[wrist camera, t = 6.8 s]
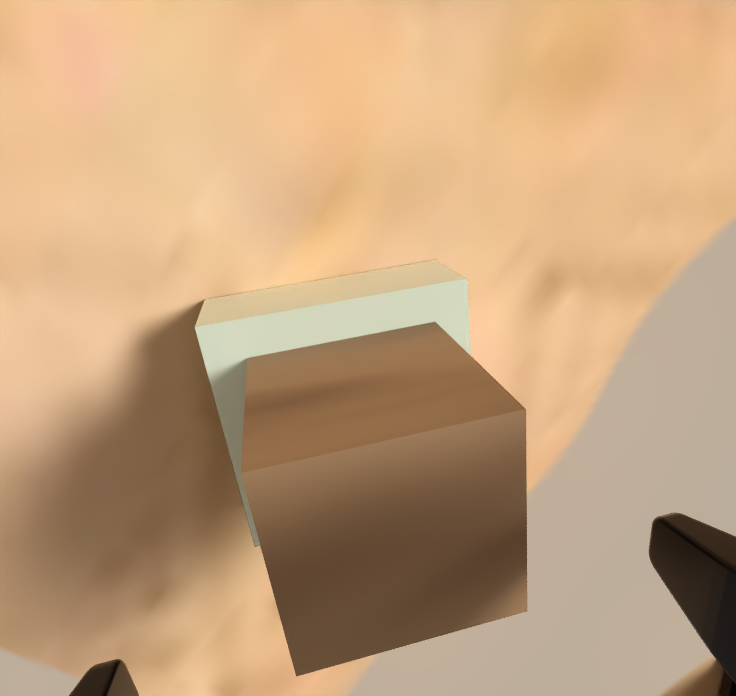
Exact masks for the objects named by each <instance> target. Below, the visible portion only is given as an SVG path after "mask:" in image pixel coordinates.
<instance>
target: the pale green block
mask: <svg viewBox="0 0 736 696" xmlns="http://www.w3.org/2000/svg"><path fill="white" fill-rule="evenodd" d="M430 322H436V323H437V324H438V325H439V326H440V327H441V328H442V329H444V330H445V331H446V332H447V333H448V334H449V335H450V336H451V337H452V338H453V339H454V340H455V341H456V342H457V343H458V344H459V345H460V346H461V347H462V348H463V349H464V350H465V351H466V352H467V353H468V354H469V355H470V356H471V349H470V328H469V307H468V287H467V278H465V277H464V276H462V275H461V274H459V273H457V272H456V271H454V270H452V269H451V268H449V267H448V266H446V265H444V264H443V263H441V262H439V261H438V260H432V261H426V262H420V263H414V264H409V265H403V266H397V267H391V268H385V269H379V270H374V271H368V272H362V273H356V274H350V275H345V276H339V277H333V278H327V279H321V280H315V281H310V282H304V283H298V284H292V285H286V286H281V287H275V288H269V289H263V290H257V291H252V292H246V293H240V294H234V295H228V296H222V297H217V298H211V299H205V301H204V303H203V306H202V309H201V311H200V314H199V317H198V319H197V322H196V325H195V330H196V334H197V338H198V341H199V345H200V349H201V352H202V356H203V359H204V363H205V367H206V370H207V374H208V378H209V381H210V385H211V389H212V392H213V396H214V399H215V403H216V407H217V410H218V414H219V418H220V421H221V425H222V429H223V432H224V436H225V440H226V443H227V447H228V450H229V454H230V458H231V461H232V465H233V469H234V472H235V476H236V480H237V483H238V487H239V490H240V494H241V498H242V501H243V505H244V509H245V512H246V516H247V520H248V523H249V527H250V531H251V534H252V538H253V541H254V545H255V547H257V546H260V542H259V538H258V535H257V531H256V528H255V524H254V520H253V517H252V513H251V509H250V506H249V502H248V498H247V495H246V491H245V488H244V484H243V480H242V477H241V457H242V440H243V424H244V407H245V390H246V373H247V358H250V357H255V356H260V355H265V354H270V353H276V352H281V351H286V350H291V349H296V348H301V347H307V346H312V345H317V344H322V343H327V342H332V341H338V340H343V339H348V338H353V337H358V336H363V335H368V334H374V333H379V332H384V331H389V330H394V329H399V328H405V327H410V326H415V325H420V324H425V323H430Z"/></svg>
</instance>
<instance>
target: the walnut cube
mask: <svg viewBox="0 0 736 696" xmlns="http://www.w3.org/2000/svg"><path fill="white" fill-rule="evenodd" d="M241 477H242V480H243V484H244V488H245V491H246V495H247V498H248V502H249V506H250V509H251V513H252V517H253V520H254V524H255V528H256V531H257V535H258V538H259V542H260V546H261V549H262V553H263V557H264V560H265V564H266V568H267V571H268V575H269V578H270V582H271V586H272V589H273V593H274V597H275V600H276V604H277V608H278V611H279V615H280V618H281V622H282V626H283V629H284V633H285V637H286V640H287V644H288V648H289V651H290V655H291V658H292V662H293V666H294V669H295V673H296V676H299V675H303V674H306V673H310V672H314V671H317V670H321V669H324V668H328V667H331V666H335V665H338V664H342V663H345V662H349V661H353V660H356V659H360V658H363V657H367V656H370V655H374V654H377V653H381V652H384V651H388V650H391V649H395V648H399V647H402V646H406V645H409V644H412V643H416V642H420V641H423V640H427V639H430V638H434V637H437V636H441V635H445V634H448V633H452V632H455V631H459V630H462V629H466V628H469V627H472V626H476V625H480V624H484V623H487V622H491V621H494V620H498V619H501V618H505V617H508V616H512V615H515V614H519V613H522V612H526V611H527V520H526V519H527V509H526V508H527V506H526V505H527V501H526V409H525V408H524V407H523V406H522V405H521V404H520V403H519V402H518V401H517V400H516V399H515V398H514V397H513V396H512V395H511V394H510V393H509V392H508V391H507V390H505V389H504V388H503V387H502V386H501V385H500V384H499V383H498V382H497V381H496V380H495V379H494V378H493V377H492V376H491V375H490V374H489V373H488V372H487V371H486V370H485V369H484V368H483V367H482V366H481V365H480V364H479V363H478V362H477V361H476V360H474V359H473V358H472V357H471V356H470V355H469V354H468V353H467V352H466V351H465V350H464V349H463V348H462V347H461V346H460V345H459V344H458V343H457V342H456V341H455V340H454V339H453V338H452V337H451V336H450V335H449V334H448V333H447V332H446V331H445V330H444V329H442V328H441V327H440V326H439V325H438V324H437V323H436V322H430V323H425V324H420V325H415V326H410V327H405V328H399V329H394V330H389V331H384V332H379V333H374V334H368V335H363V336H358V337H353V338H348V339H343V340H338V341H332V342H327V343H322V344H317V345H312V346H307V347H301V348H296V349H291V350H286V351H281V352H276V353H270V354H265V355H260V356H255V357H250V358H247V373H246V390H245V407H244V424H243V440H242V457H241Z"/></svg>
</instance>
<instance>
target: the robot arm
mask: <svg viewBox="0 0 736 696" xmlns="http://www.w3.org/2000/svg"><path fill="white" fill-rule="evenodd" d="M649 557H650V560H651V563H652V565H653V567H654V568H655V570H656V571H657V573H658V574H659V576H660V577H661V579H662V580H663V582H664V583H665V585H666V586H667V588H668V589H669V591H670V592H671V594H672V595H673V597H674V598H675V600H676V601H677V603H678V604H679V606H680V607H681V609H682V610H683V612H684V613H685V615H686V616H687V618H688V619H689V621H690V622H691V624H692V626H693V627H694V628H695V630H696V631H697V633H698V635H699V636H700V637H701V639H702V640H703V642H704V643H705V644H706V646H707V647H708V649H709V650H710V652H711V653H712V654H713V656H714V657H715V658H716V660H717V661H718V662H719V663H720V665H721V666H722V667H723V669H724V670H725V671H726V676H725V680H724V684H723V689H722V693H721V696H736V537H735V536H733V535H731V534H728V533H726V532H724V531H721V530H718V529H716V528H714V527H711V526H709V525H707V524H705V523H702V522H700V521H697V520H695V519H692V518H690V517H688V516H686V515H683V514H680V513H670V514H667V515H663V516H659V517H656V518H655V519H654V521H653V523H652V530H651V537H650V545H649ZM69 696H139V694H138V691H137V689H136V687H135V685H134V682H133V680H132V678H131V676H130V674H129V672H128V669H127V667H126V665H125V663H124V662H123V661H122V660H120V659H116V660H112V661H108V662H104V663H100V664H97V665H94V666H93V667H91V668H90V669H89V670H88V671H87V672H86V674H85V675H84V676H83V678H82V679H81V680H80V682H79V683H78V684H77V686H76V687H75V688H74V690H73V691H72V692H71V694H70V695H69Z"/></svg>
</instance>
